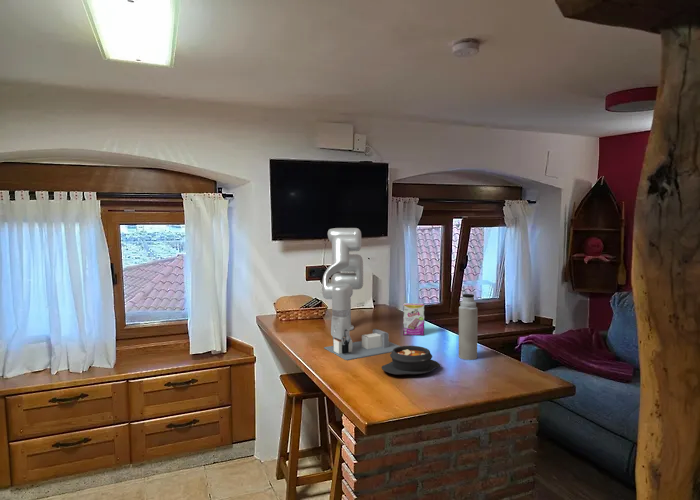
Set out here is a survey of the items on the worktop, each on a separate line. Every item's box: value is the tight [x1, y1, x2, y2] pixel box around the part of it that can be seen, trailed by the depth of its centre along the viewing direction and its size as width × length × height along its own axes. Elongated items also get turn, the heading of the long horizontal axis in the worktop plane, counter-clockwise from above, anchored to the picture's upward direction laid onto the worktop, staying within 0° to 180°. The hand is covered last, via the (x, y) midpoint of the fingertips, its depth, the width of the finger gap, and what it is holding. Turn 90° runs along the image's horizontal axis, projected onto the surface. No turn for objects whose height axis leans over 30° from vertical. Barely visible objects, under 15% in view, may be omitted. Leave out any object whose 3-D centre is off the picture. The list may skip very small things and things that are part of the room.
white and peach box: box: [333, 338, 353, 354], centre depth 211 cm, size 5×7×6 cm
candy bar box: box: [402, 302, 425, 336], centre depth 242 cm, size 11×5×16 cm, turn 84°
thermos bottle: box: [458, 293, 479, 361], centre depth 202 cm, size 8×8×28 cm
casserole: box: [381, 345, 441, 376], centre depth 186 cm, size 25×19×8 cm
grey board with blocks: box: [323, 328, 401, 361], centre depth 217 cm, size 22×32×7 cm
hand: (340, 350), depth 211 cm, fingers open, 7 cm apart
